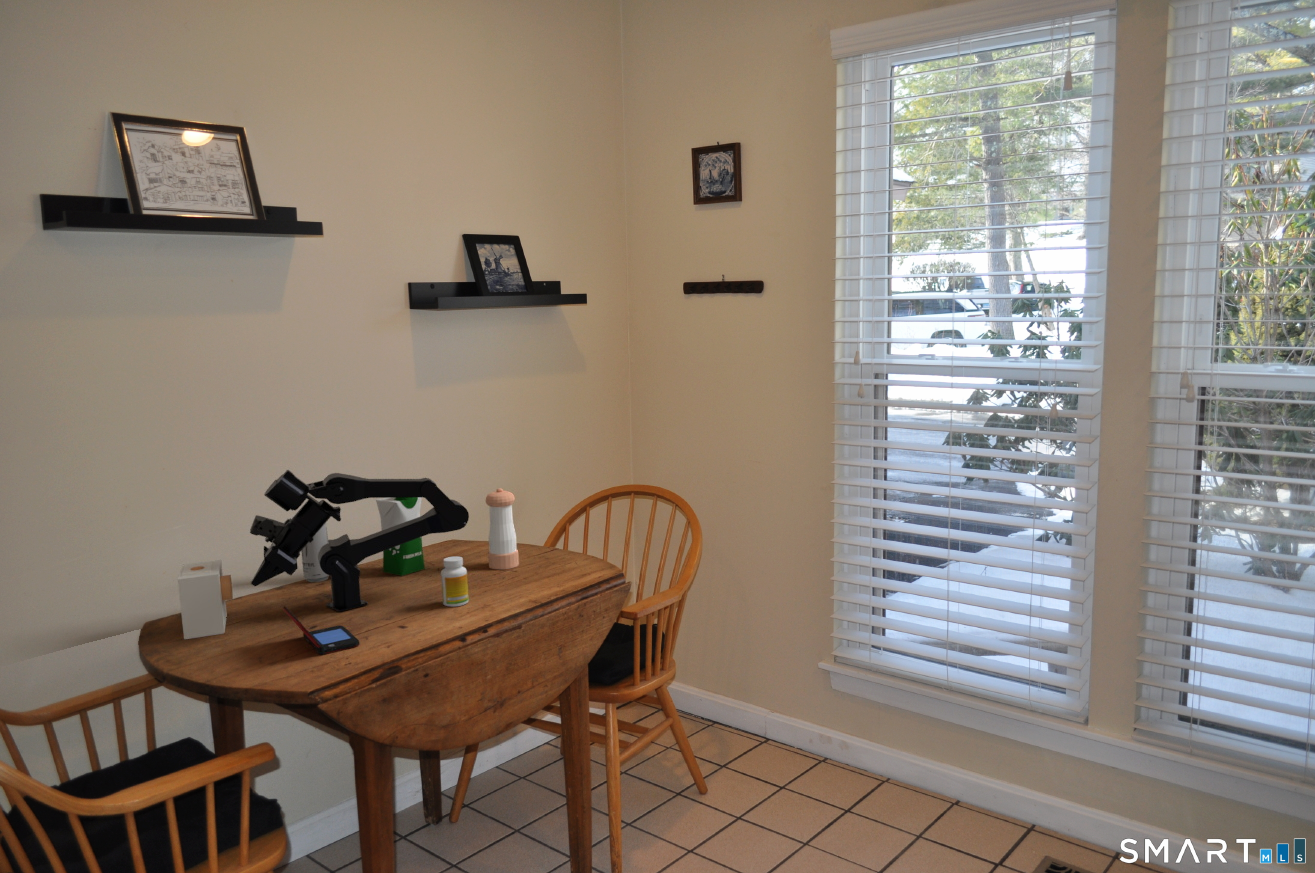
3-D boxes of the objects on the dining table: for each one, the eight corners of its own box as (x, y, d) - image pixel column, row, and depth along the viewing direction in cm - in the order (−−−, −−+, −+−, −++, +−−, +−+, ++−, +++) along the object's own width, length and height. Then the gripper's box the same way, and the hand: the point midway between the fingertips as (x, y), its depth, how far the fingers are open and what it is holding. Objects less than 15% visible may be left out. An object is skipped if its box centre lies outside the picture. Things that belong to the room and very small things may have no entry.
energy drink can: (299, 580, 210) (293, 518, 208) (323, 574, 214) (318, 513, 212) (311, 584, 206) (306, 521, 204) (335, 578, 210) (330, 516, 208)
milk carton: (401, 577, 209) (394, 494, 206) (377, 572, 214) (370, 491, 212) (430, 568, 216) (424, 487, 213) (406, 563, 221) (400, 484, 219)
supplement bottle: (473, 602, 189) (471, 557, 187) (452, 608, 185) (449, 563, 184) (459, 597, 192) (456, 553, 191) (437, 603, 188) (434, 559, 187)
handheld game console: (361, 647, 165) (358, 608, 164) (300, 661, 159) (297, 621, 158) (342, 629, 175) (339, 593, 174) (285, 642, 169) (281, 604, 168)
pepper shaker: (516, 569, 213) (511, 490, 210) (486, 570, 213) (481, 491, 211) (521, 560, 220) (517, 485, 218) (492, 561, 220) (487, 485, 218)
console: (226, 615, 185) (221, 558, 184) (224, 633, 174) (218, 572, 173) (189, 621, 183) (183, 562, 181) (184, 639, 172) (177, 577, 170)
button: (233, 595, 182) (230, 572, 181) (232, 602, 178) (229, 578, 177) (211, 598, 181) (208, 574, 180) (209, 605, 176) (207, 581, 175)
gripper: (272, 493, 189) (220, 551, 187) (272, 509, 172) (216, 573, 170) (315, 524, 194) (265, 581, 191) (319, 543, 177) (265, 606, 174)
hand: (252, 584), depth 181 cm, fingers closed
